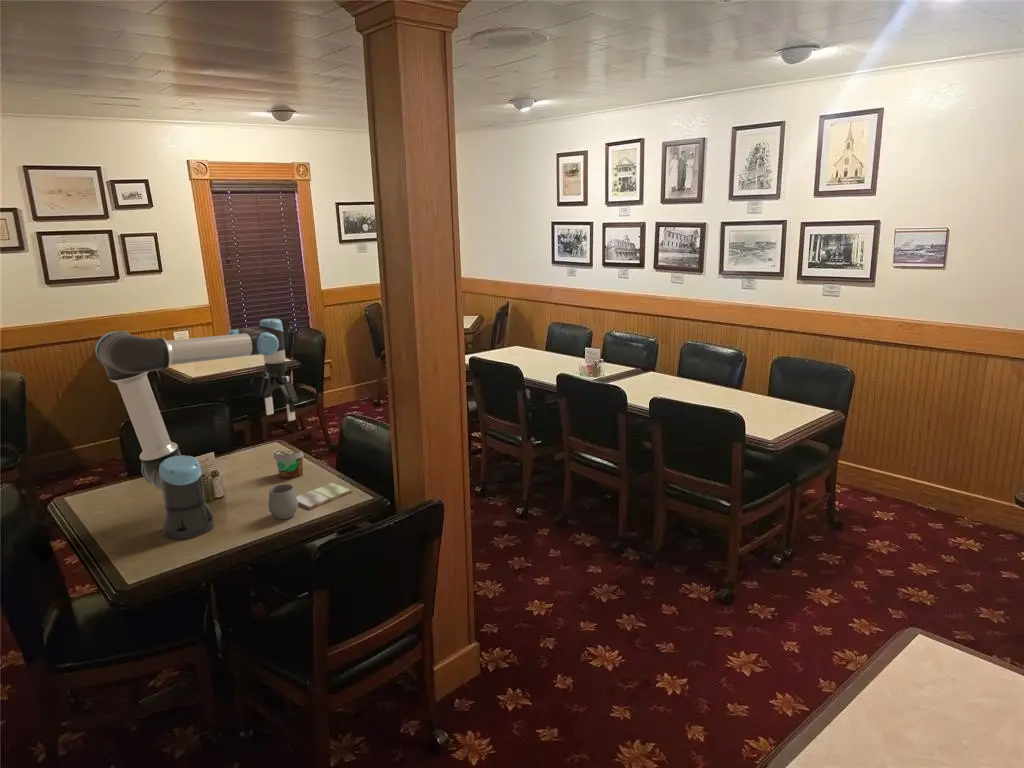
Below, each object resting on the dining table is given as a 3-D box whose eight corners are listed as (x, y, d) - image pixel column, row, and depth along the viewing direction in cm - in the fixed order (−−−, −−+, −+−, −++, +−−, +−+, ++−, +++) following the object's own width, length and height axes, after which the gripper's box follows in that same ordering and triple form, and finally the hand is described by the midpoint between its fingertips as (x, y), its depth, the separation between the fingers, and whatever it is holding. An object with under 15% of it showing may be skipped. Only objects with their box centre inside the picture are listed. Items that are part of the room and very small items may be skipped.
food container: (269, 478, 256) (266, 454, 254) (278, 472, 262) (276, 448, 260) (296, 481, 253) (294, 456, 250) (306, 475, 259) (303, 451, 256)
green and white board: (310, 509, 228) (309, 506, 227) (289, 501, 235) (289, 498, 235) (352, 492, 241) (352, 489, 241) (331, 485, 249) (331, 482, 248)
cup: (303, 510, 228) (300, 483, 225) (292, 522, 219) (289, 494, 216) (277, 509, 228) (273, 482, 226) (264, 521, 219) (261, 493, 217)
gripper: (304, 363, 238) (310, 420, 243) (264, 355, 252) (270, 409, 258) (286, 367, 232) (292, 425, 237) (246, 359, 247) (252, 414, 252)
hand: (280, 417), depth 247 cm, fingers open, 13 cm apart
